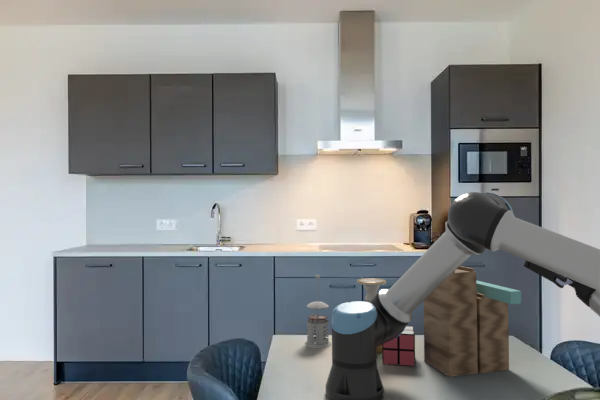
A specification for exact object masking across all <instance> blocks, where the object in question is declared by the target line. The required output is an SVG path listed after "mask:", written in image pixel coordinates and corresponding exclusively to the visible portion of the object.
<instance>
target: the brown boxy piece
mask: <svg viewBox="0 0 600 400" xmlns="http://www.w3.org/2000/svg"><path fill="white" fill-rule="evenodd" d="M476 280H477V271H475V268H473V267H468V266H463V265H460V266H459V267H458V268H457V269H456V270H455V271H454V272H453V273H452V274H451V275H450V276H449V277H448V278H447V279H446V280H445V281H444V282H442V283H441V284H440V285H439V286H438V287H437V288H436V289H435V290H434V291H433V292H432V293H431V294H430V295H429V296H428V297H427V298H426V299H425V300H424V301H423V351H424V353H423V358H424V359H423V360H424V362H425V363H426V364H428V365H430V366H431V367H433V368H435V370H436V369H437V370H438V371H439V372H441V373H442V374H445V375H446V376H448V377H456V376H457V377H458V376H465V375H474V374H478V373H480V374H484V373H492V372H502V371H509V370H510V350H509V349H510V346H509V345H510V342H509V341H510V336H509V335H510V334H509V329H510V328H509V304H508V303H505V302H501V301H498V300H494V299H491V298H487V297H485V295H484V294H480V293H477V284H476Z"/></svg>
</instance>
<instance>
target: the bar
mask: <svg viewBox="0 0 600 400" xmlns="http://www.w3.org/2000/svg"><path fill="white" fill-rule="evenodd" d="M476 284H477V293H480V294H484V295H485V297H487V298H491V299H494V300H498V301H501V302H505V303H508V305H519V304H520V305H521V304H522V290H518V289H515V288H511V287H506V286H503V285H502V286H501V285H498V284H493V283H489V282H485V281H480V280H477V279H476Z"/></svg>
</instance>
